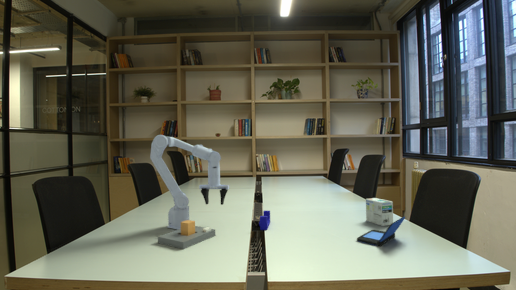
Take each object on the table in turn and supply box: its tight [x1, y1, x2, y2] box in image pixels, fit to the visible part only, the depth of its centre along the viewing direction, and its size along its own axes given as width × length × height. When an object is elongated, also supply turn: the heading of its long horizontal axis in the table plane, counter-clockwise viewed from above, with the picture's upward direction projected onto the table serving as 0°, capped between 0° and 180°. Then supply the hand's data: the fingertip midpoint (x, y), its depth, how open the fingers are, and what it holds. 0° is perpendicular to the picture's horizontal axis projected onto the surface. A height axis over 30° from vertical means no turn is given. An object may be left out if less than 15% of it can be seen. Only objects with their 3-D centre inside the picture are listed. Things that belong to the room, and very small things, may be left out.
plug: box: [181, 219, 196, 236], centre depth 118 cm, size 4×4×7 cm
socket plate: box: [157, 225, 216, 250], centre depth 118 cm, size 14×18×4 cm
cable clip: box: [258, 210, 271, 231], centre depth 135 cm, size 12×4×6 cm, turn 171°
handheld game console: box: [356, 216, 406, 247], centre depth 113 cm, size 16×13×9 cm
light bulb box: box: [365, 197, 394, 227], centre depth 137 cm, size 11×7×11 cm, turn 22°
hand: (214, 204), depth 140 cm, fingers open, 7 cm apart
